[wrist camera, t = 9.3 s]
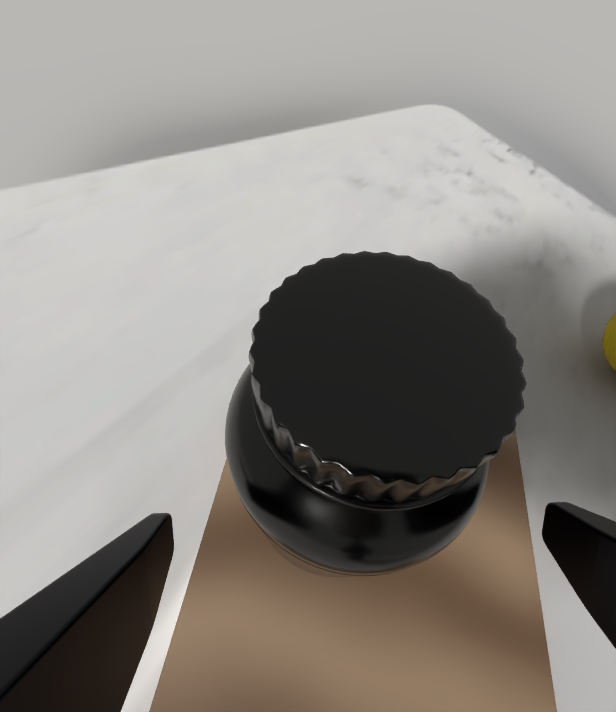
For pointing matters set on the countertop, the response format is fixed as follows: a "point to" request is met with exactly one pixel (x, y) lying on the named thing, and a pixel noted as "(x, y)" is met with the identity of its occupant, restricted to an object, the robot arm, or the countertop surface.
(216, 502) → the walnut board
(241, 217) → the countertop surface
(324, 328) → the supplement bottle
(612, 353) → the lemon
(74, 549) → the countertop surface
